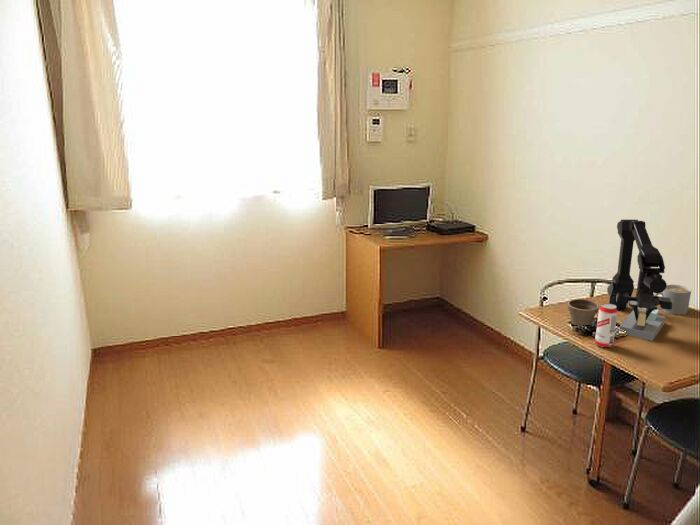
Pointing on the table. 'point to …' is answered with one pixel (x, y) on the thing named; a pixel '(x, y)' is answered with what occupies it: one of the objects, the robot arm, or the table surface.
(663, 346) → the table surface
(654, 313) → the cover
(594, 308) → the flower pot
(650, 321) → the housing
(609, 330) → the beer can
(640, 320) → the gold faceted block
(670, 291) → the coffee mug
